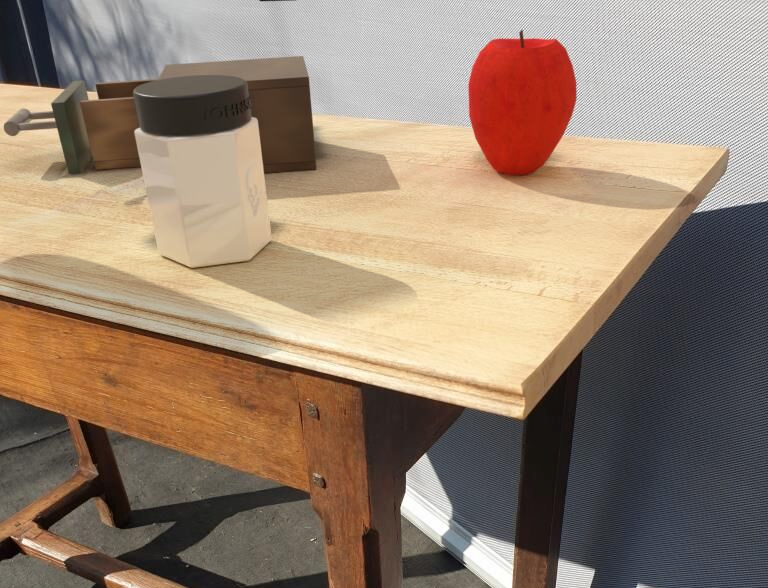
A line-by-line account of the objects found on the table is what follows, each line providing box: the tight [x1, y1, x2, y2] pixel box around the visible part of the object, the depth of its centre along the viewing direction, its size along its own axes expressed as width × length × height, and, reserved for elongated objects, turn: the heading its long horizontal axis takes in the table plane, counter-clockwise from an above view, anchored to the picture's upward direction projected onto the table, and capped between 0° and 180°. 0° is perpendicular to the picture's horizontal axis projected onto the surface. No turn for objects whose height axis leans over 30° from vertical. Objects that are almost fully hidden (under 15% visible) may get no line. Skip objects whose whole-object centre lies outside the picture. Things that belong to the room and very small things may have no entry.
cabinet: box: [157, 55, 317, 174], centre depth 86 cm, size 15×13×9 cm
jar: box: [133, 75, 273, 269], centre depth 63 cm, size 9×8×12 cm
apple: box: [467, 29, 578, 176], centre depth 77 cm, size 10×10×12 cm
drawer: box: [3, 78, 158, 175], centre depth 85 cm, size 19×11×7 cm, turn 97°
